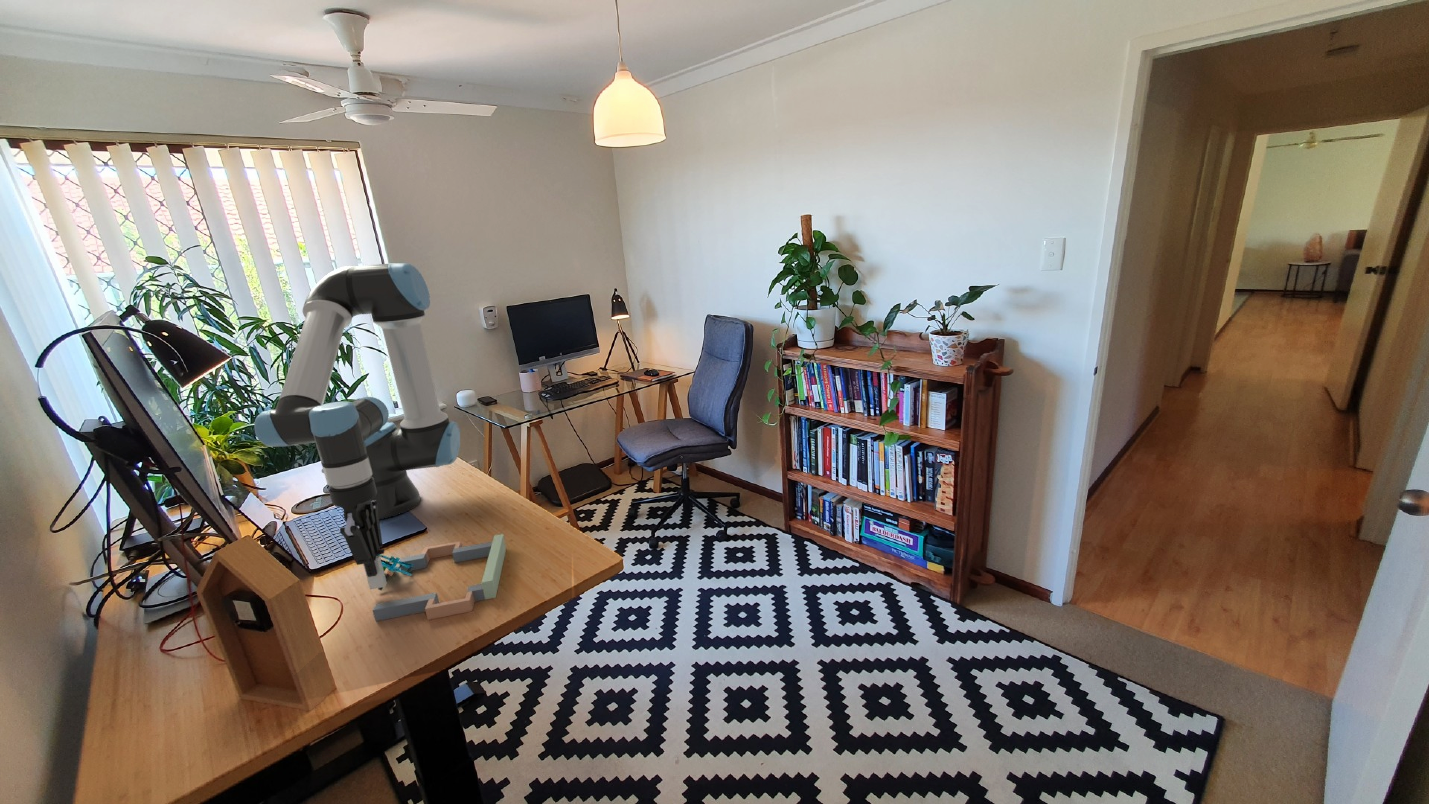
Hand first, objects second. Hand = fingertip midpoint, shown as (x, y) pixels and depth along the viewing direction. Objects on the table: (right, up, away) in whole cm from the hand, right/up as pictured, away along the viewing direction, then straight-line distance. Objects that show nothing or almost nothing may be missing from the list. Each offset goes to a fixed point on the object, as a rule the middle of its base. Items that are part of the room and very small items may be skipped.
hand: (378, 586), depth 112 cm
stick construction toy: (+1, -1, +7) cm, 7 cm away
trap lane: (+11, -1, +4) cm, 12 cm away
